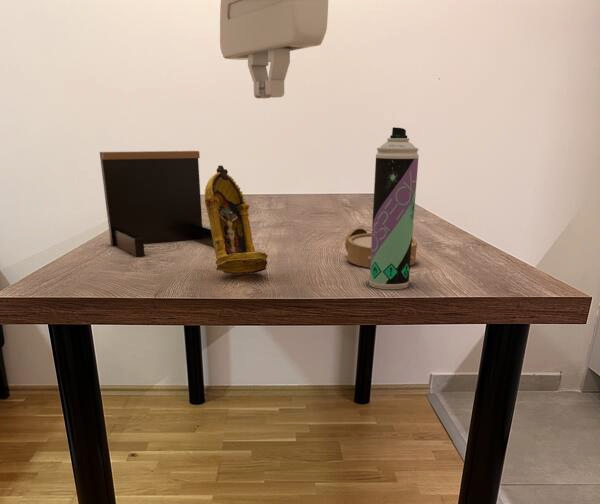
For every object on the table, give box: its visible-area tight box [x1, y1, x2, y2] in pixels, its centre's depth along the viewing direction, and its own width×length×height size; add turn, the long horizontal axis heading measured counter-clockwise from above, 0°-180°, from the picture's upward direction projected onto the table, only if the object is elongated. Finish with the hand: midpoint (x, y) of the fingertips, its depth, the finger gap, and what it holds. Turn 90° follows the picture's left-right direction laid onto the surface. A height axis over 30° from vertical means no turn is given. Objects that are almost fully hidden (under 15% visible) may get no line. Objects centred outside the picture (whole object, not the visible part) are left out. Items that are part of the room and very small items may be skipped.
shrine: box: [204, 164, 268, 275], centre depth 91 cm, size 12×8×15 cm
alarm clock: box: [344, 228, 418, 269], centre depth 106 cm, size 11×5×15 cm
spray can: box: [369, 126, 420, 290], centre depth 85 cm, size 6×6×20 cm
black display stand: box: [99, 150, 214, 258], centre depth 114 cm, size 18×14×16 cm
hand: (268, 97), depth 76 cm, fingers closed
